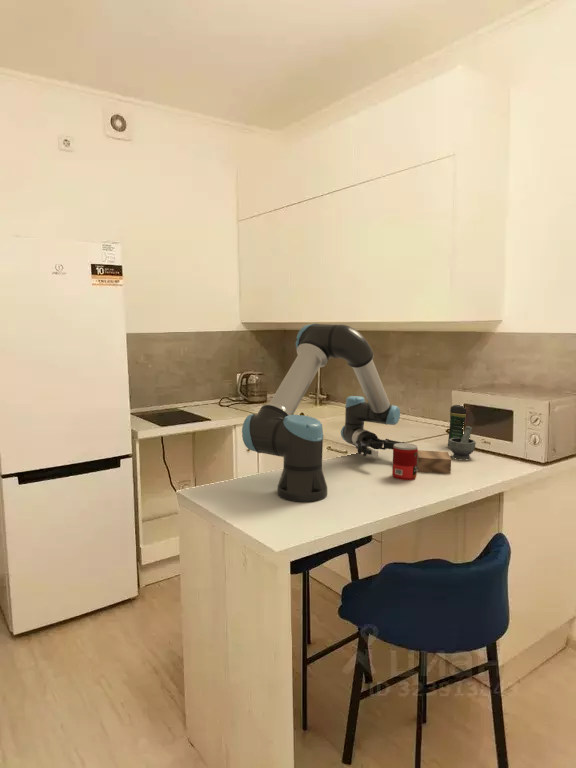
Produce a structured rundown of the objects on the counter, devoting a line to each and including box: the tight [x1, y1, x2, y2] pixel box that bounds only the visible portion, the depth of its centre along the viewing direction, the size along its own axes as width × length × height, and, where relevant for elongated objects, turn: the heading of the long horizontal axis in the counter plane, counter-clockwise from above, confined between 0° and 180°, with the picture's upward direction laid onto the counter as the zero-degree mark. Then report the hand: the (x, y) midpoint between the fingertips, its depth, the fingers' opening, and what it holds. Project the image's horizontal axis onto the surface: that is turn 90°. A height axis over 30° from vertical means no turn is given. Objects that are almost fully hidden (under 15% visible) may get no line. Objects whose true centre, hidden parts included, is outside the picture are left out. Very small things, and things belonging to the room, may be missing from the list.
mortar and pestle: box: [448, 426, 477, 461], centre depth 209 cm, size 11×9×12 cm
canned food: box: [391, 442, 419, 481], centre depth 182 cm, size 8×8×11 cm
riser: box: [417, 449, 452, 474], centre depth 194 cm, size 11×11×5 cm
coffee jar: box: [447, 404, 466, 448], centre depth 225 cm, size 10×8×19 cm
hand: (394, 453), depth 189 cm, fingers open, 13 cm apart
